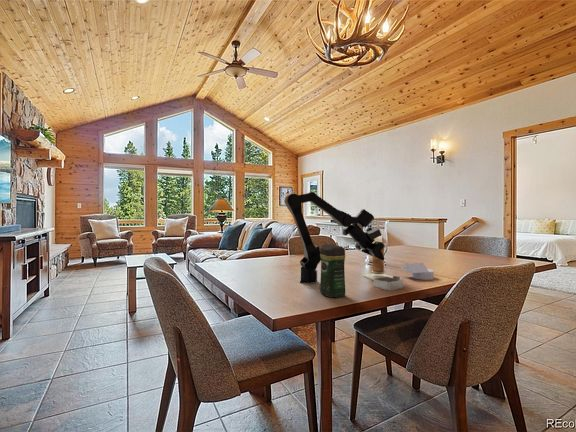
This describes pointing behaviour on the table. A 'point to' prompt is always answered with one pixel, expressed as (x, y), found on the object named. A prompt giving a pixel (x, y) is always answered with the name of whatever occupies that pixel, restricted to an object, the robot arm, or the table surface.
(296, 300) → the table surface
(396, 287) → the white open box
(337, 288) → the coffee jar
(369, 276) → the mat
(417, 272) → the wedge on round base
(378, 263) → the brown cylinder
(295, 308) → the table surface
